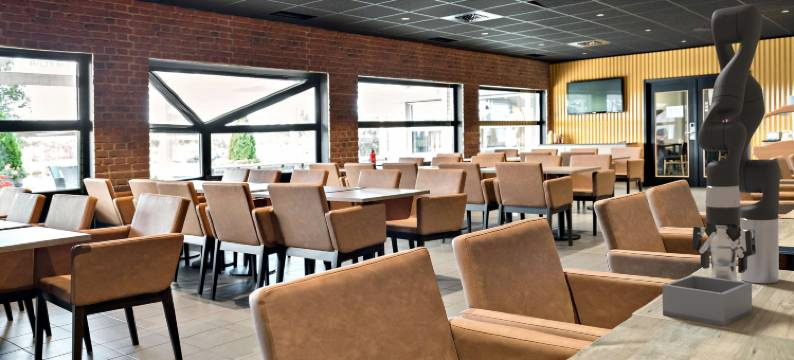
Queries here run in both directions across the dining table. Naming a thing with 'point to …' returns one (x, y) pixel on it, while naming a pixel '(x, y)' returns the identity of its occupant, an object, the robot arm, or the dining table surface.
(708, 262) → the robot arm
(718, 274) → the plastic bottle
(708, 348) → the dining table surface
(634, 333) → the dining table surface
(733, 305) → the box
